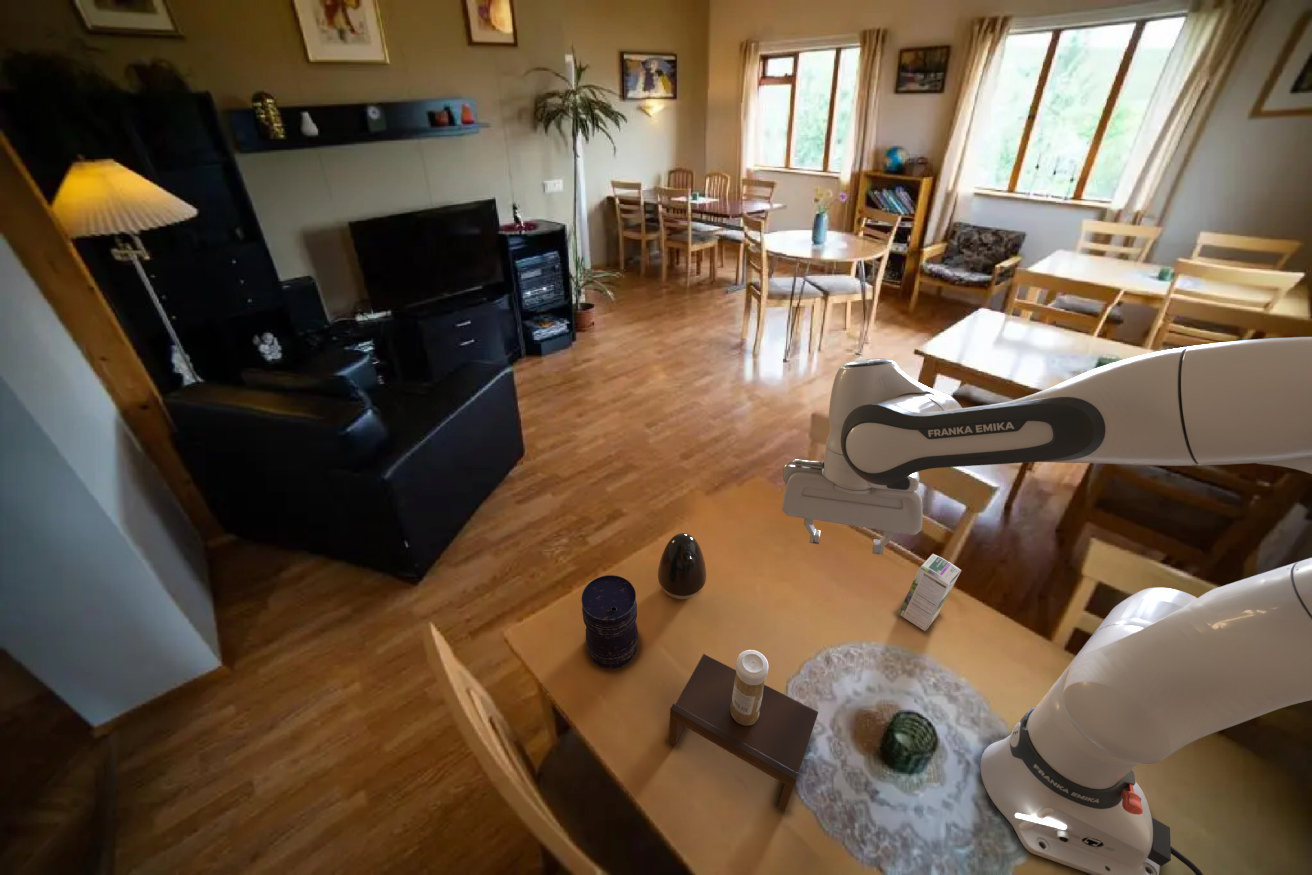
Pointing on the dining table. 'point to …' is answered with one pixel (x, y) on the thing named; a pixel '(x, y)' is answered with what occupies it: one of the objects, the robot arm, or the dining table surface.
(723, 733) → the desk shelf
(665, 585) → the black egg-shaped piece
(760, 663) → the sprinkles bottle
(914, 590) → the syrup box
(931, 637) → the dining table surface
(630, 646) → the storage jar
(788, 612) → the dining table surface
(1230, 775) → the dining table surface
